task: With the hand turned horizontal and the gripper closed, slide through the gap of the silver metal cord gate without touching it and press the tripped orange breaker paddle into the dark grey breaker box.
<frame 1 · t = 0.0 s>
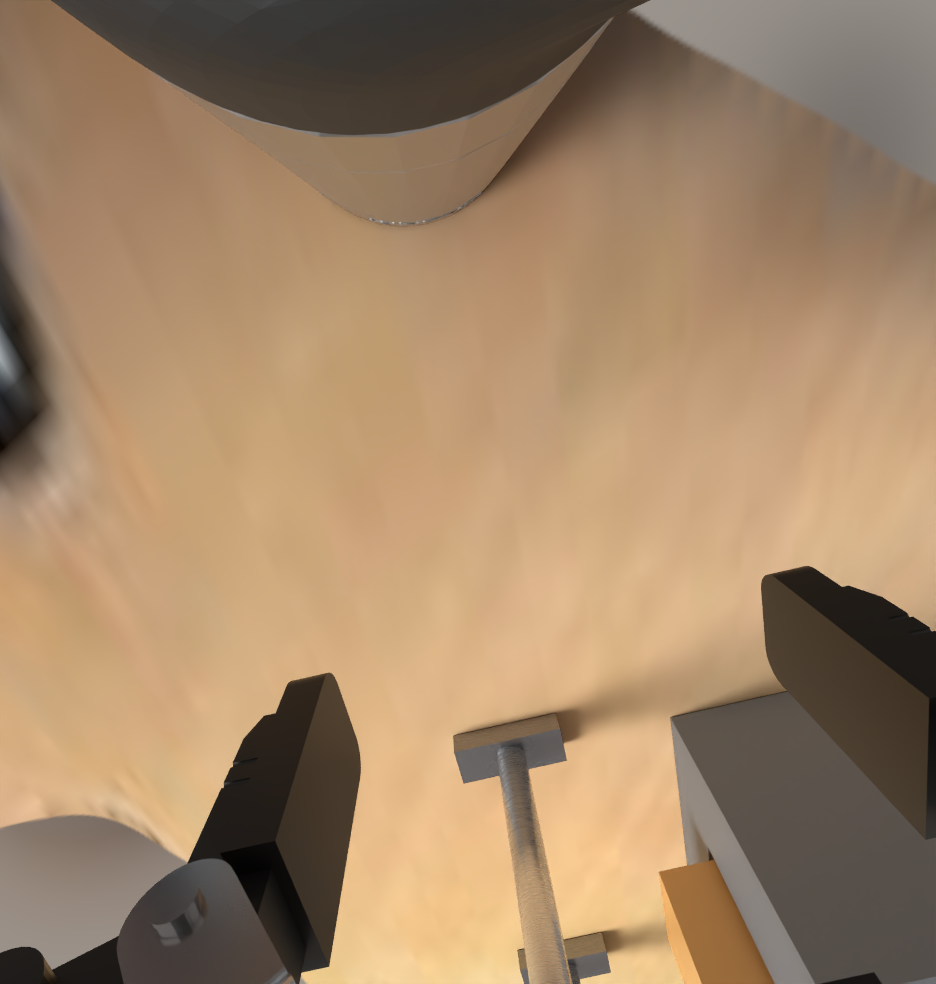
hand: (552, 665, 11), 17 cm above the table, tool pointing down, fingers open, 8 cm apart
breaker box: (744, 811, 37), on the table
cord gate: (537, 856, 37), on the table
breaker paddle: (737, 966, 30), point 8 cm above the table, slide at 0.0 cm
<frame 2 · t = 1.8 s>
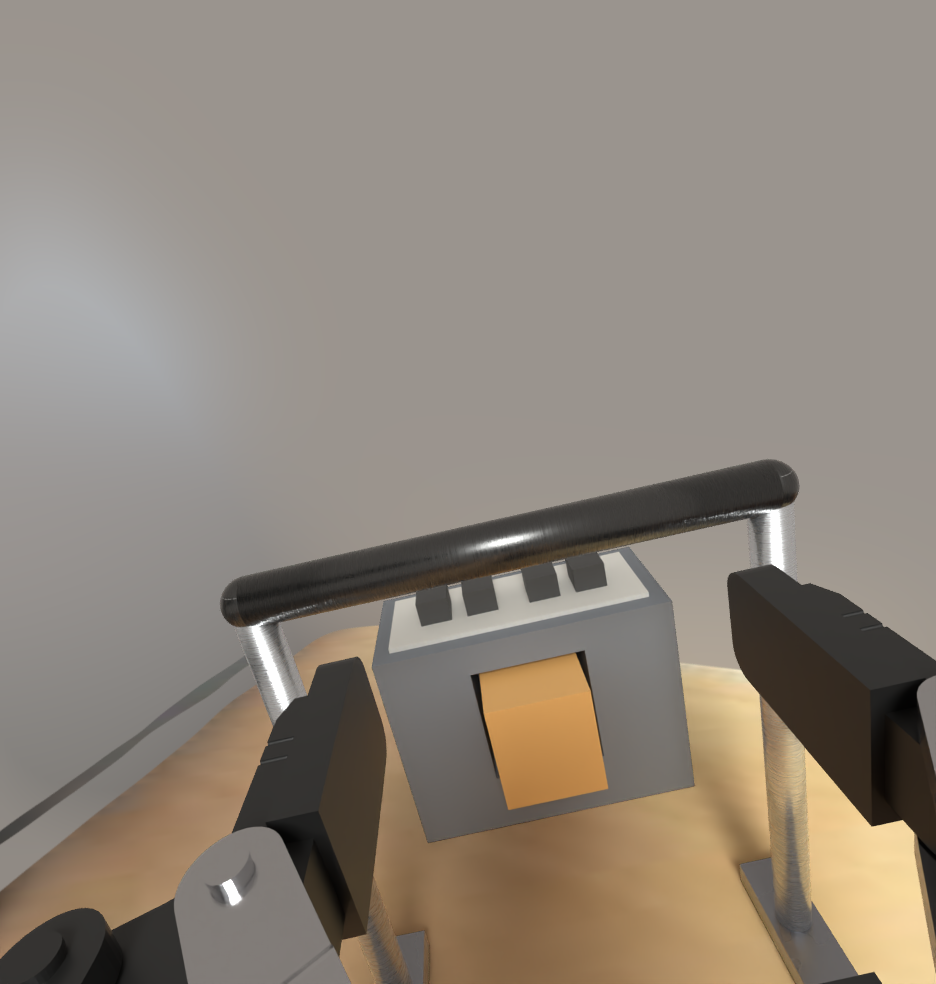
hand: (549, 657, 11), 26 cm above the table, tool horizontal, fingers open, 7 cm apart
breaker box: (549, 768, 42), on the table
cord gate: (598, 972, 29), on the table
breaker paddle: (540, 722, 35), point 8 cm above the table, slide at 0.0 cm
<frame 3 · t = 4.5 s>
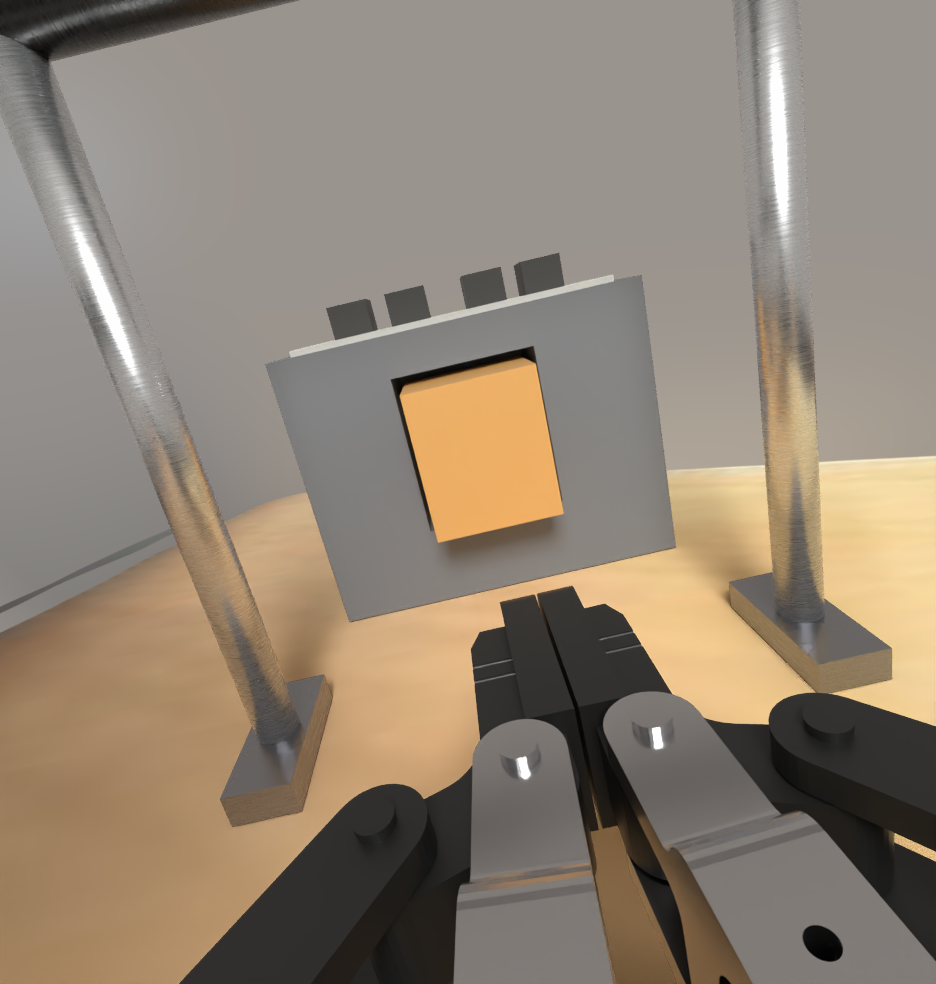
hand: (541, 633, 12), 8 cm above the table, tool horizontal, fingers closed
breaker box: (503, 555, 35), on the table
cord gate: (543, 696, 22), on the table
breaker paddle: (480, 445, 28), point 8 cm above the table, slide at 0.0 cm
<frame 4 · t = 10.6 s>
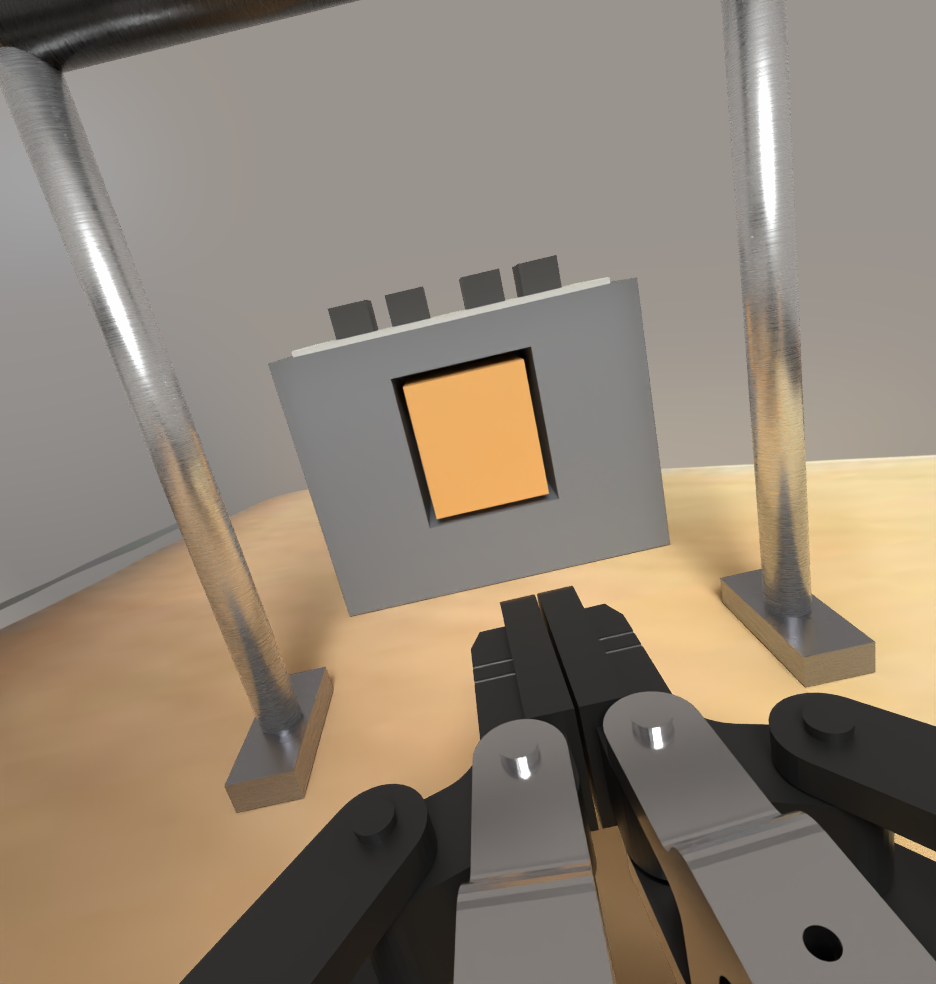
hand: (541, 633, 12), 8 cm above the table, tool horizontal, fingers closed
breaker box: (501, 551, 36), on the table
cord gate: (538, 688, 23), on the table
breaker paddle: (475, 432, 31), point 8 cm above the table, slide at 2.8 cm
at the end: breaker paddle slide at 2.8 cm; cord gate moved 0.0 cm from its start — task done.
